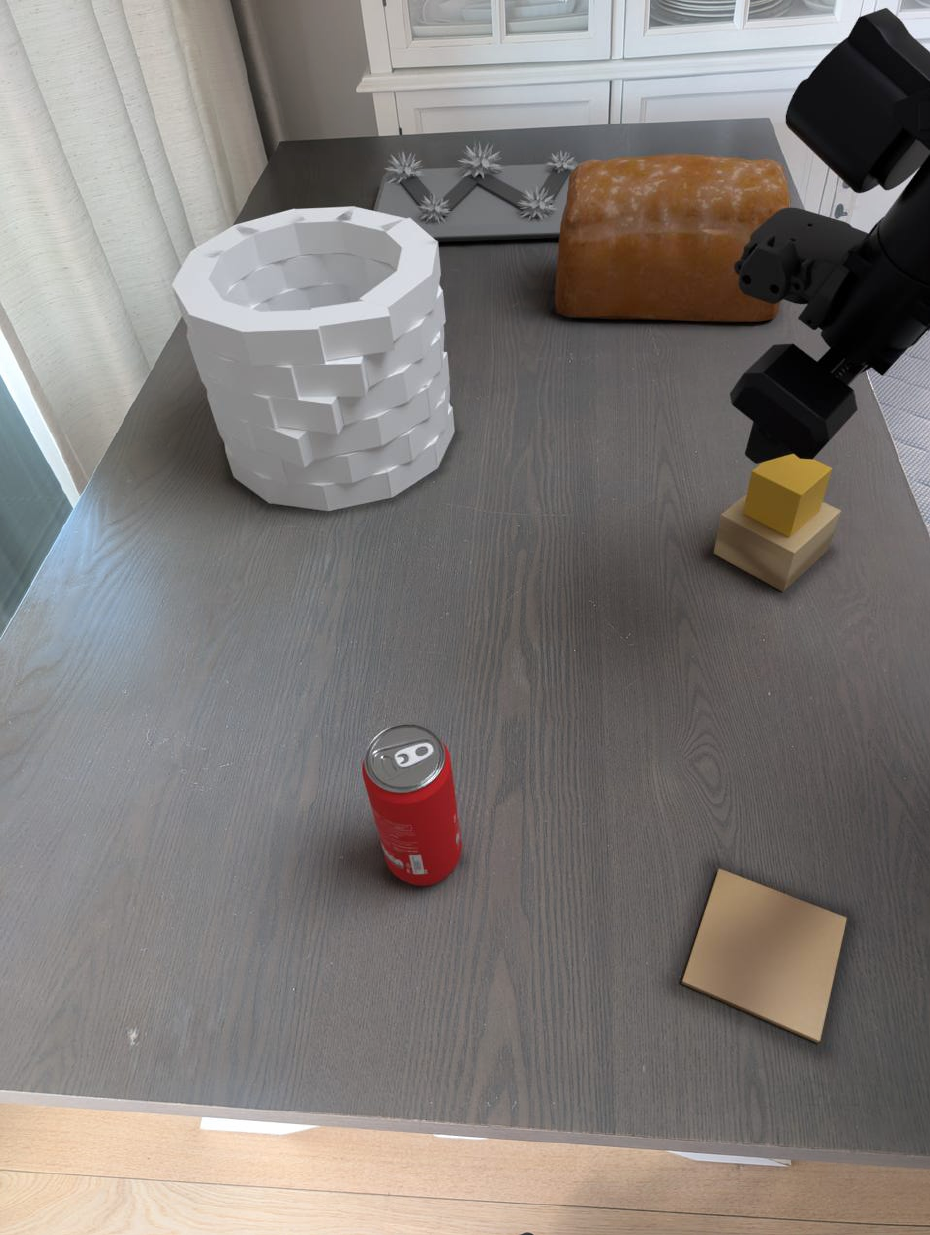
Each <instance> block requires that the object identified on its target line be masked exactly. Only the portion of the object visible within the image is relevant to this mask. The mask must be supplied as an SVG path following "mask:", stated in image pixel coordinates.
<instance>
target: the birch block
mask: <svg viewBox="0 0 930 1235" xmlns="http://www.w3.org/2000/svg"><path fill="white" fill-rule="evenodd" d="M746 496H747V493H746V494H744V495H743V496H742V497H741V498H739V499H738V500H737V501H735V503H733V504H732V505H731V506H729V507H728V508H727V509H726V510H725V511H723V512H722V513H721V514H720V518H719V523H718V528H717V534H716V538H715V544H714V549H713V554H714V555H716V556H717V557H719V558H721V559H723V560H725V561H726V562H728V563H730V564H731V565H734V566H736V567H737V568H739V569H741V570H742V571H744V572H746V573H748V574H750V575H752V576H754V577H755V578H757V579H758V580H761V581H762V582H764V583H766V584H768V585H770V586H771V587H773V588H775V589H776V590H778V591H781V592H782V593H784V592H785V591H786V590H787V589H788V588H789V587H791V586H792V585H793V584H794V583H795V582H796V581H797V580H798V579H799V578H801V576H803V575H804V573H806V572H807V571H808V570H809V569H810V568H811V567H812V566H813V565H815V563H816V562H818V561H819V559H821V558H822V557H823V556H824V555H826V553H827V552H828V551H829V550H830V547H831V543H832V541H833V537H834V535H835V532H836V528H837V525H838V523H839V519H840V516H841V513H842V510H841V509H839V508H837V507H835V506H832V505H831V504H829V503H826V502H825V501H823V502H822V505H821V508H820V511H819V512H818V513H817V514H816V515H815V516H813V517H812V518H811V519H810V520H809V521H808V522H807V523H806V524H804V525H803V526H802V527H801V528H800V529H799V530H798V531H797V532H795V533H794V534H793V535H792V536H791V537H790V538H789V537H787V536H785V535H783V534H781V533H779V532H777V531H775V530H774V529H772V528H770V527H768V526H766V525H764V524H762V523H760V522H758V521H756V520H754V519H752V518H750V517H749V516H747V515H745V514H743V509H744V505H745V500H746Z"/></svg>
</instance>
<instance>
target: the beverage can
mask: <svg viewBox="0 0 930 1235" xmlns="http://www.w3.org/2000/svg"><path fill="white" fill-rule="evenodd" d="M451 759H452V758H451V755H450V751H449V749H448V747H447V745H446V744H445V743H444V741H443V740H442V739H441V737H440V736H439V734H437V733H436V732H435V731H434V730H432V729H431V728H429V727H427V726H425V725H422V724H418V723H414V722H413V723H412V722H409V723H408V722H407V723H400V724H399V723H397V724H394V725H391V726H388V727H387V728H385V729H383V730H382V731H380V732H379V733H378V734H376V735H375V736H374V737H373V738H372V740H370V742H369V743H368V746H366V750H365V752H364V757H363V760H362V765H361V766H362V768H361V771H362V772H361V773H362V777H363V782H364V786H365V789H366V793H367V796H368V801H369V804H370V808H371V812H372V816H373V819H374V822H375V827H376V830H377V833H378V837H379V842H380V845H381V848H382V852H383V856H384V859H385V862H386V865H387V867H388V869H389V870H390V871H391V873H393V875H395V877H397V878H398V879H400V880H402V881H404V882H406V883H407V884H410V885H412V886H415V887H430V886H433V885H436V884H438V883H441V882H442V881H444V880H445V879H446V878H448V877H449V876H450V874H452V872H453V870H454V869H455V868H456V867H457V865H458V863H459V861H460V859H461V856H462V850H463V840H462V835H461V827H460V819H459V812H458V804H457V798H456V797H457V796H456V788H455V781H454V774H453V766H452V761H451Z"/></svg>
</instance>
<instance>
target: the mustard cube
mask: <svg viewBox="0 0 930 1235" xmlns="http://www.w3.org/2000/svg"><path fill="white" fill-rule="evenodd" d="M832 471H833V467H831V466H829V465H827V464H824V463H822V462H820V461H818V460H816V459H814V458H813V460H811V459H800V458H798V457H797V456H796V455H795V454H791V455H787V456H783V457H780V458H776V459H773V460H769V461H766V462H762V463H759V464H758V466H756V467H755V468H753V469H752V470H751V473H750V478H749V482H748V486H747V492H746V494H747V496H746V500H745V505H744V509H743V514H745V515H747V516H749V517H750V518H752V519H754V520H756V521H758V522H760V523H762V524H764V525H766V526H768V527H770V528H772V529H774V530H775V531H777V532H779V533H781V534H783V535H785V536H787V537H789V538H790V537H791V536H792V535H793V534H794V533H795V532H797V531H798V530H799V529H800V528H801V527H802V526H803V525H804V524H806V523H807V522H808V521H809V520H810V519H811V518H812V517H813V516H815V515H816V514H817V513H818V512H819V511H820V508H821V505H822V502H824V498H825V495H826V492H827V488H828V484H829V481H830V478H831V474H832Z"/></svg>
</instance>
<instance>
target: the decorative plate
mask: <svg viewBox="0 0 930 1235" xmlns="http://www.w3.org/2000/svg"><path fill="white" fill-rule="evenodd" d="M489 144H490V142H488V143H487V145H486V146H485V148H484V150H482V146H481V142H480V140H479V141H478V147H477V143H476V140H474V146H473V150H471V149H470V148H469V147H468V146H467V145H465V147H466V148H465V149H464V150H465V151H464V150H461V152H462V153H463V154H464V155H465V156H466V158H462V157H461V158H460V159H461V160H460V159H459V160H458V159H457V161H458V162H459V163H457V165H458V166H459V167H438V168H423V167H424V165H422V164H423V163H421V160H419V161H417V162H415V161H416V159H415V156H416V154H414V155H413V156H412V153H413V152H410V153H409V155H408V157H407V158H406V156H405V152H404V151H401V153H400V151H399V150H398V160H397V159H396V158H395V157H394V156H393V155H392V154H390V156H391V158H390V159H391V160H389V159H387V161H388V162H389V164H390V165H391V166H387V167H383V169H385V170H387V171H384V172H385V174H384V175H383V177H381V182H380V185H379V189H378V193H377V196H376V200H375V203H374V207H373V210H372V211H376V212H380V213H385V214H389V215H394V216H398V217H403V218H411V219H412V220H413V221H414V222H415V223H416V224H418V225H419V226H420V227H421V228H422V229H423V230H424V231H426V232H427V233H428V234H429V235H430V236H431V237H432V238H434V239H435V240H436V241H438V243H450V242H480V241H506V240H507V241H508V240H509V241H510V240H512V241H513V240H537V239H538V240H539V239H540V240H541V239H542V240H543V239H559V237H560V224H561V220H562V215H563V212H564V208H565V205H566V202H567V191H568V183H569V175H570V172H572V171H573V170H574V169H575V168H576V167H577V166H578V165H579V164H580V163H578V162H577V161H575V160H574V159H575V156H573V157H572V158H570V154H571V152H569V153H568V151H567V150H566V151H565V153H564V155H563V151H562V149H560V150H559V151H557V154H555V155H554V153H551V155H550V156H549V159H550V160H551V161H547V162H546V163H540V164H515V165H514V164H511V165H510V164H509V165H501V164H497V163H498V162H499V161H500V160H502V159H503V157H500V154H499V153H500V151H497V152H495V153H493V154H492V152H493V150H492V149H493V147H494V145H495V144H494V142H493V143H492V145H491V147H490V148H489ZM401 155H402V156H401Z"/></svg>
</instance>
